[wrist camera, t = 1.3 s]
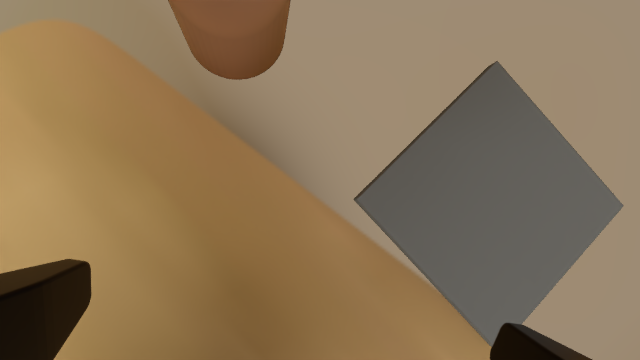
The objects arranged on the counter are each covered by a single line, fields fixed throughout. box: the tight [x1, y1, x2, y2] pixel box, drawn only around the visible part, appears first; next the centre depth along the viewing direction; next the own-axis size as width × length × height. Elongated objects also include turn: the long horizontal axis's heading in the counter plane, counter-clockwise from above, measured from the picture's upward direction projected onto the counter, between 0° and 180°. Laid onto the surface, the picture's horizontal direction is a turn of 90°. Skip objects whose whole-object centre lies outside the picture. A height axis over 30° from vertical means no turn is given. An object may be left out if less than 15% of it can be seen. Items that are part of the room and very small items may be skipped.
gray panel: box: [354, 61, 623, 346], centre depth 21 cm, size 11×11×1 cm
